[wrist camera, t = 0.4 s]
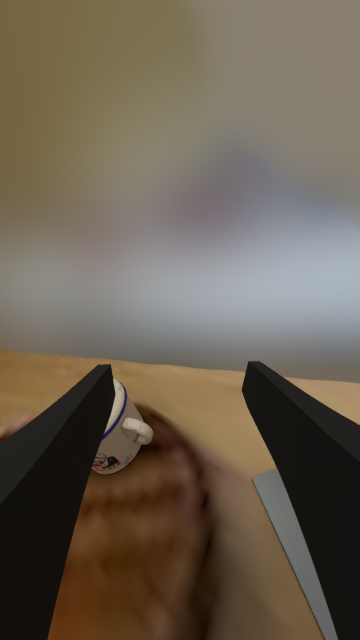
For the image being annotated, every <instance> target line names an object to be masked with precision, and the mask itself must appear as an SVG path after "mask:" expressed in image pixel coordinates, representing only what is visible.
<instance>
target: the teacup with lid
mask: <svg viewBox="0 0 360 640" xmlns="http://www.w3.org/2000/svg"><path fill="white" fill-rule="evenodd" d="M113 381H114V387H115V393H116V395H115V400H114V404H113V408H112V412H111V416H110V419H109V421H108V424H107V427H106V430H105V433H104V435H103V438H102V441H101V444H100V446H99V449H98V452H97V455H96V457H95V460H94V463H93V465H92V469H93V470H94V471H96V472H98V473H101V474H111V473H115V472H117V471H119V470H121V469H122V468H124V467H125V466H126V465H128V464H129V463H130V462H131V461H132V459H133V458H134V457H135V456H136V454H137V452H138V451H139V449H140V447H141V444H148V443H150V442H151V440H152V437H153V431H152V429H151V428H150V427H149V426H148V425H147V424H145V423H144V422H143V419H142V417H141V415H140V414H139V412H138V411H137V409H136V408H135V406H134V405H133V403H132V402H131V400H130V398H129V397H128V395H127V393H126V389H125V387H124V386H123V384H122V383H121V382H119V381H117V380H115V379H113Z"/></svg>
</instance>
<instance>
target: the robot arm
mask: <svg viewBox="0 0 360 640" xmlns="http://www.w3.org/2000/svg"><path fill="white" fill-rule="evenodd" d="M242 393H243V396H244V399H245V401H246V404H247V407H248V409H249V411H250V414H251V416H252V418H253V420H254V422H255V424H256V426H257V428H258V430H259V432H260V434H261V436H262V438H263V440H264V442H265V444H266V446H267V448H268V450H269V452H270V454H271V456H272V458H273V460H274V462H275V464H276V467H277V469H278V471H279V474H280V476H281V479H282V481H283V484H284V486H285V489H286V491H287V494H288V496H289V499H290V502H291V504H292V507H293V509H294V512H295V515H296V517H297V520H298V523H299V525H300V528H301V531H302V533H303V536H304V539H305V542H306V545H307V548H308V550H309V553H310V556H311V559H312V562H313V564H314V567H315V570H316V573H317V576H318V579H319V582H320V585H321V588H322V591H323V594H324V597H325V600H326V603H327V606H328V609H329V612H330V615H331V619H332V622H333V625H334V628H335V631H336V635H337V638H338V640H360V425H358V424H357V423H355V422H353V421H351V420H350V419H348V418H346V417H344V416H342V415H341V414H339V413H337V412H336V411H334V410H332V409H331V408H329V407H327V406H326V405H324V404H323V403H321V402H319V401H318V400H316V399H315V398H313V397H311V396H310V395H308V394H307V393H305V392H304V391H302V390H301V389H299V388H298V387H296V386H295V385H293V384H292V383H291V382H289V381H288V380H286V379H285V378H283V377H282V376H280V375H279V374H278V373H276V372H275V371H273V370H272V369H270V368H269V367H267V366H266V365H264V364H263V363H261V362H260V361H257V362H256V361H254V362H253V361H252V362H248V365H247V369H246V374H245V378H244V382H243V386H242ZM115 395H116V393H115V387H114V381H113V375H112V369H111V364H105V365H97V366H96V367H95V368H94V369H93V370H92V371H90V372H89V373H88V374H87V375H86V376H85V377H84V378H83V379H82V380H80V381H79V382H78V383H77V384H76V385H75V386H74V387H72V388H71V389H70V390H69V391H68V392H67V393H66V394H64V395H63V396H62V397H61V398H60V399H58V400H57V401H56V402H55V403H53V404H52V405H51V406H50V407H49V408H47V409H46V410H45V411H44V412H42V413H41V414H40V415H39V416H37V417H36V418H35V419H33V420H32V421H31V422H30V423H28V424H27V425H26V426H24V427H23V428H22V429H20V430H19V431H17V432H16V433H15V434H13V435H12V436H10V437H9V438H8V439H6V440H5V441H3V442H2V443H1V444H0V640H47V638H48V634H49V630H50V625H51V621H52V617H53V612H54V608H55V604H56V599H57V595H58V591H59V587H60V583H61V579H62V575H63V571H64V567H65V563H66V559H67V555H68V551H69V547H70V543H71V539H72V536H73V532H74V528H75V524H76V520H77V516H78V513H79V509H80V506H81V502H82V498H83V495H84V491H85V488H86V484H87V481H88V477H89V474H90V471H91V468H92V465H93V463H94V460H95V457H96V455H97V452H98V449H99V446H100V444H101V441H102V438H103V435H104V433H105V430H106V427H107V424H108V421H109V419H110V416H111V412H112V408H113V404H114V400H115Z"/></svg>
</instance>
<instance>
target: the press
mask: <svg viewBox="0 0 360 640" xmlns="http://www.w3.org/2000/svg"><path fill="white" fill-rule="evenodd" d="M252 481H253V483H254V485H255V487H256V490H257V492H258V494H259V496H260V498H261V501H262V503H263V505H264V507H265V509H266V512H267V514H268V516H269V518H270V520H271V523H272V525H273V527H274V529H275V531H276V534H277V536H278V538H279V540H280V542H281V544H282V547H283V549H284V551H285V553H286V555H287V558H288V560H289V562H290V564H291V566H292V569H293V571H294V573H295V575H296V577H297V580H298V582H299V584H300V586H301V588H302V591H303V593H304V595H305V597H306V599H307V602H308V604H309V606H310V608H311V610H312V613H313V615H314V617H315V619H316V621H317V624H318V626H319V628H320V630H321V632H322V635H323V637H324V639H325V640H338V638H337V635H336V631H335V628H334V625H333V622H332V619H331V615H330V612H329V609H328V606H327V603H326V600H325V597H324V594H323V591H322V588H321V585H320V582H319V579H318V576H317V573H316V570H315V567H314V564H313V562H312V559H311V556H310V553H309V550H308V548H307V545H306V542H305V539H304V536H303V533H302V531H301V528H300V525H299V523H298V520H297V517H296V515H295V512H294V509H293V507H292V504H291V502H290V499H289V496H288V494H287V491H286V489H285V486H284V484H283V481H282V479H281V476H280V474H279V471H278V469H274V470H272V471H269V472H267V473H265V474H262V475H260V476H257V477H255V478H252Z"/></svg>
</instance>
